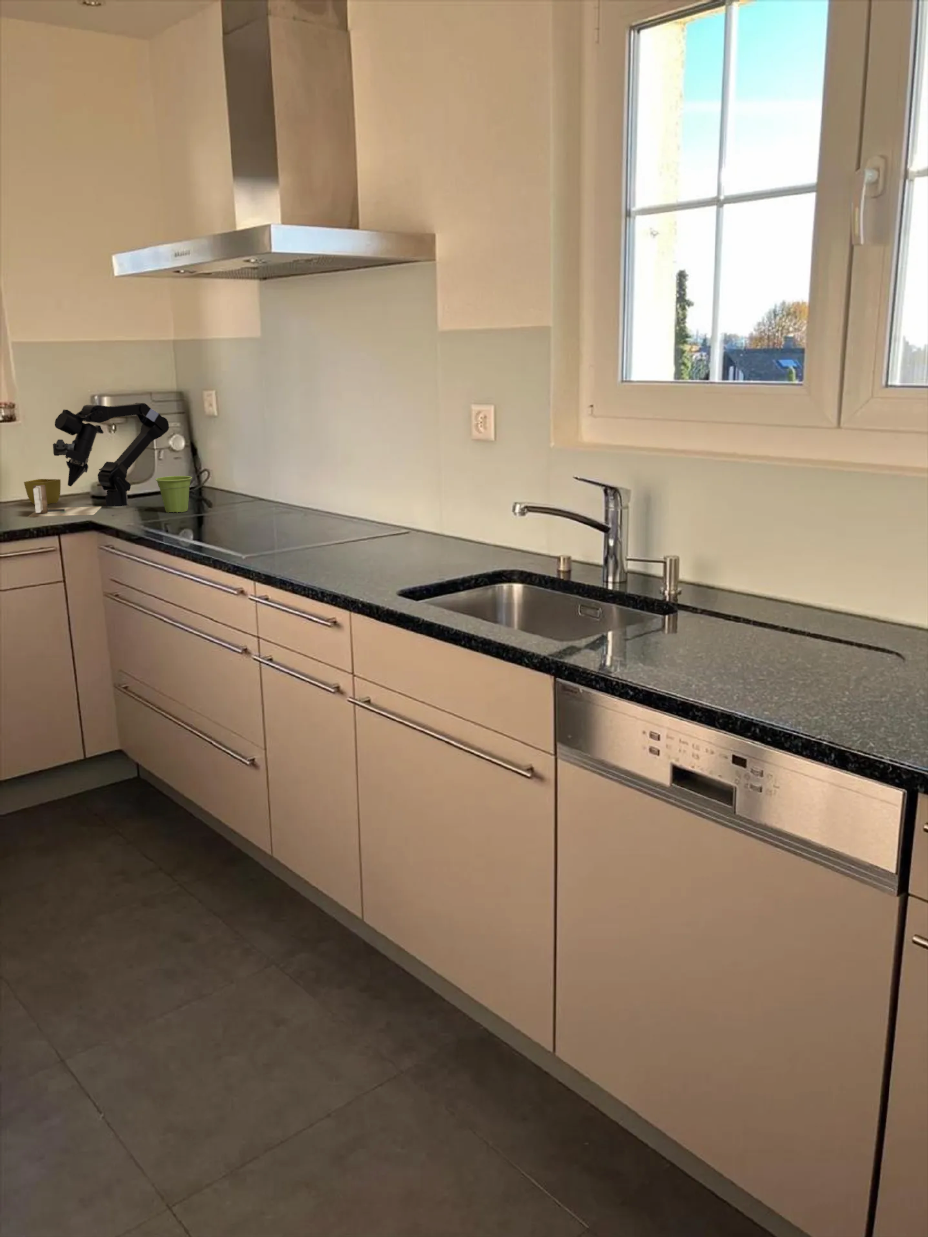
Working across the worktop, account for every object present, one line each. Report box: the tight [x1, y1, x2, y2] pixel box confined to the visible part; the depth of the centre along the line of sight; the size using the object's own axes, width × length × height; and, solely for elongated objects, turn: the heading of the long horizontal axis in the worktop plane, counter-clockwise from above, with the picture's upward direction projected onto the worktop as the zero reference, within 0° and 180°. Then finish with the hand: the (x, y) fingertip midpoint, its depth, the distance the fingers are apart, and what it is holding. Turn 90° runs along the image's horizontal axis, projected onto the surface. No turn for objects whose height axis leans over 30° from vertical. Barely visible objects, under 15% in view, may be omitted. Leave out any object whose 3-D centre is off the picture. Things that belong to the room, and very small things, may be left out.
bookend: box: [33, 485, 65, 513], centre depth 326 cm, size 10×9×9 cm
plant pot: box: [155, 475, 193, 513], centre depth 339 cm, size 12×12×11 cm
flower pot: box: [23, 478, 62, 505], centre depth 352 cm, size 9×9×9 cm
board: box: [27, 506, 102, 518], centre depth 334 cm, size 20×18×1 cm
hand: (69, 485), depth 331 cm, fingers closed
